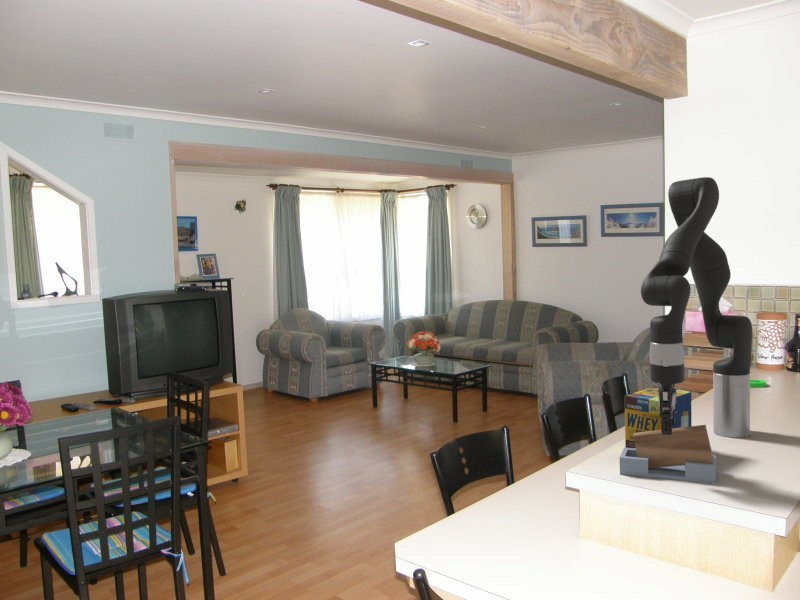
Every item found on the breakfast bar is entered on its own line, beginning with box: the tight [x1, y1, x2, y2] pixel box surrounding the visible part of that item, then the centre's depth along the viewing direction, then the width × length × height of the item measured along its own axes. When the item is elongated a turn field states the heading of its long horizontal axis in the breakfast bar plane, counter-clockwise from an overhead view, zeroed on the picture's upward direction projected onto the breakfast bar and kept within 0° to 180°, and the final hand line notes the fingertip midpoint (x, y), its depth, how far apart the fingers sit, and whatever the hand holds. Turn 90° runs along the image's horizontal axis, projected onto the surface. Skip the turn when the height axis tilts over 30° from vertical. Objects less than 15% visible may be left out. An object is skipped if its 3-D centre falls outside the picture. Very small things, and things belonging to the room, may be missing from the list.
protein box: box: [624, 385, 692, 448], centre depth 175 cm, size 10×15×16 cm
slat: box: [633, 424, 714, 468], centre depth 158 cm, size 3×16×8 cm, turn 63°
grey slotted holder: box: [619, 447, 717, 484], centre depth 159 cm, size 8×21×4 cm, turn 65°
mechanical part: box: [750, 379, 767, 388], centre depth 248 cm, size 12×6×8 cm, turn 77°
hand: (668, 429), depth 159 cm, fingers open, 8 cm apart
